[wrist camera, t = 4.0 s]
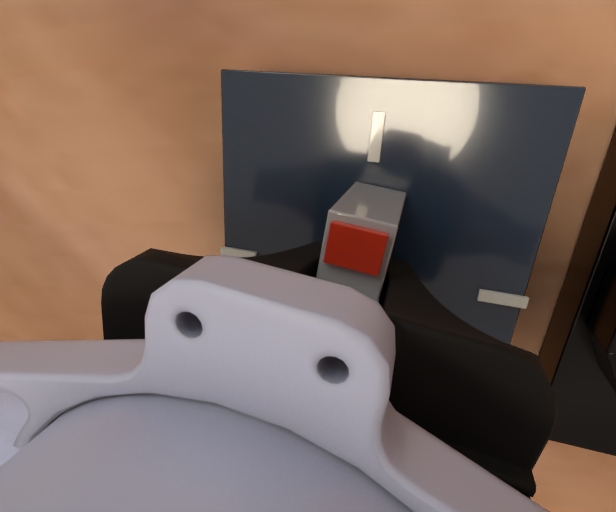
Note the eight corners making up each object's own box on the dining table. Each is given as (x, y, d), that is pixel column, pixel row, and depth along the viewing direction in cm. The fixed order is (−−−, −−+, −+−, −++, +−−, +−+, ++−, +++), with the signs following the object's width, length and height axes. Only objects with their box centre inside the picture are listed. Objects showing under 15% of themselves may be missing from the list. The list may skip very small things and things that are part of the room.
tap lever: (364, 353, 14) (343, 434, 11) (322, 340, 14) (288, 414, 11) (407, 192, 12) (397, 229, 8) (355, 181, 12) (325, 211, 9)
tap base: (473, 393, 17) (483, 451, 14) (253, 343, 19) (223, 384, 16) (556, 90, 12) (594, 87, 10) (255, 75, 15) (214, 68, 12)
